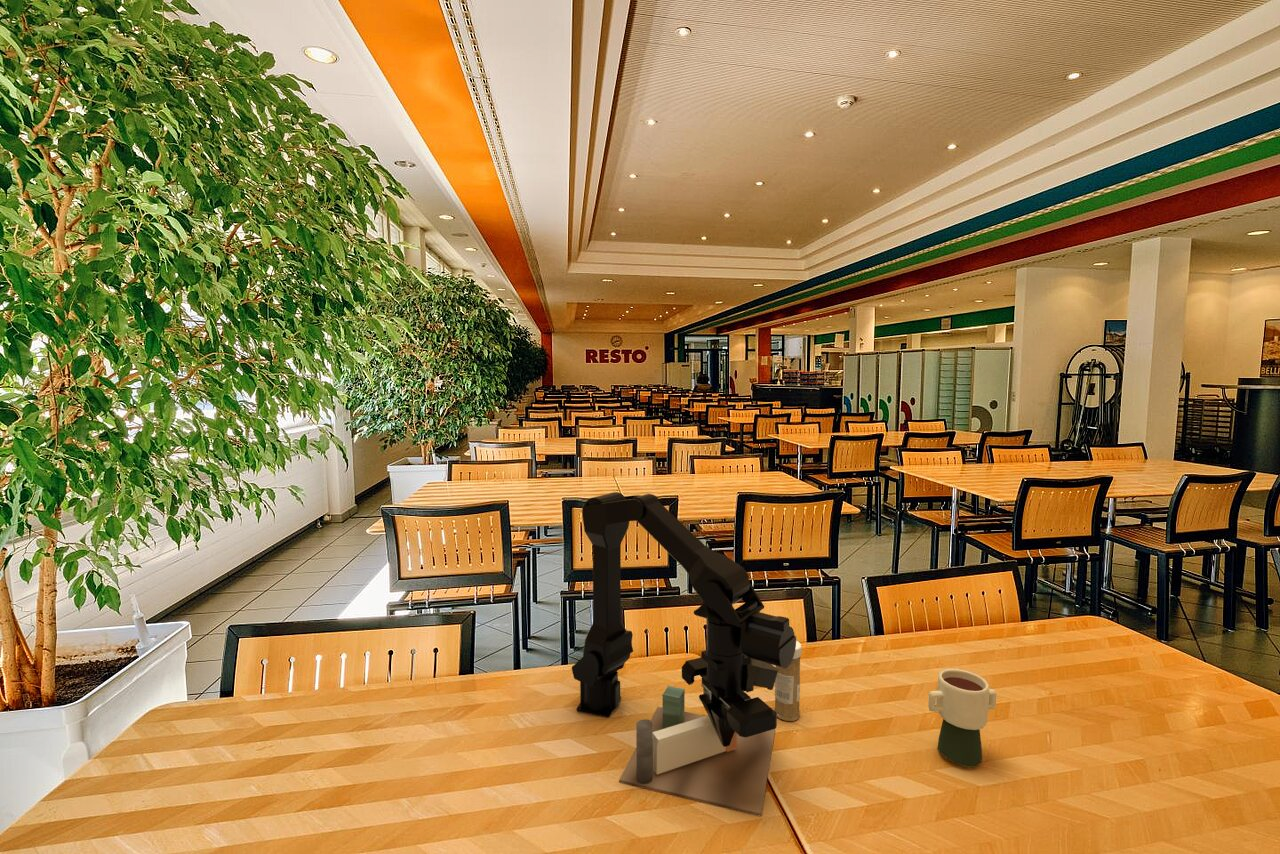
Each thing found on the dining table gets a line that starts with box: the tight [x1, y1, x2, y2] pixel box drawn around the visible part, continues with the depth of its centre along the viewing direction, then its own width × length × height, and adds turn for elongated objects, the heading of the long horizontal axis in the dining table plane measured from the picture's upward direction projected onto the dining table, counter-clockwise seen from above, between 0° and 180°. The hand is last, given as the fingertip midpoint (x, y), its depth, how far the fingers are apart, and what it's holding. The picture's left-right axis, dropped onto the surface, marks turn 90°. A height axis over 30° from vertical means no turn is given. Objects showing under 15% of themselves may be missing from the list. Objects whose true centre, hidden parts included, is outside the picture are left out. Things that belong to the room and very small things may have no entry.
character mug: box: [927, 668, 997, 768], centre depth 91 cm, size 11×7×13 cm, turn 94°
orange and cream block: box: [652, 714, 737, 774], centre depth 90 cm, size 14×2×6 cm, turn 116°
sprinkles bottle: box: [773, 640, 803, 722], centre depth 103 cm, size 5×5×14 cm
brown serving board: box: [618, 685, 776, 817], centre depth 92 cm, size 21×20×9 cm
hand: (725, 745), depth 89 cm, fingers closed
